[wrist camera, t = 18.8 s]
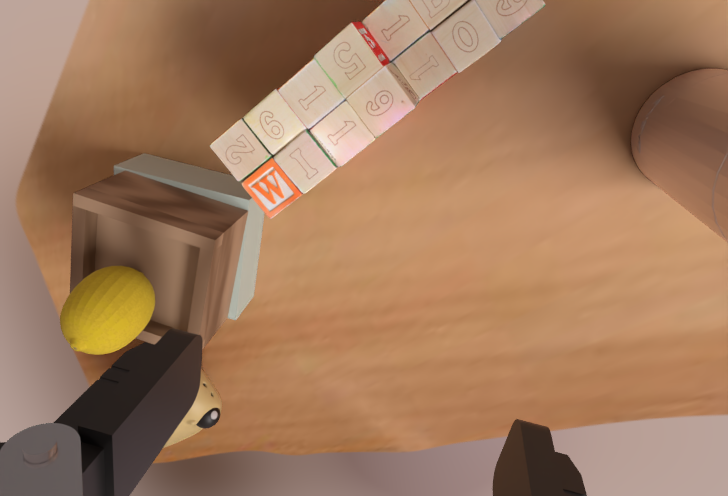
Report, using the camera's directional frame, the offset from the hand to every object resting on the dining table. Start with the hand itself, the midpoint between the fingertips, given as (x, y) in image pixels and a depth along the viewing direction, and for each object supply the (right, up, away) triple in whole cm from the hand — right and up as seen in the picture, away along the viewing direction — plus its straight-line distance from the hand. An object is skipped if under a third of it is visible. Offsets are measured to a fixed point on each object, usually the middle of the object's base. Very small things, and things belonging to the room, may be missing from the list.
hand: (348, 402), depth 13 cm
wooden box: (-16, +4, +32) cm, 36 cm away
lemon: (-17, +2, +28) cm, 33 cm away
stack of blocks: (+2, +18, +28) cm, 34 cm away
